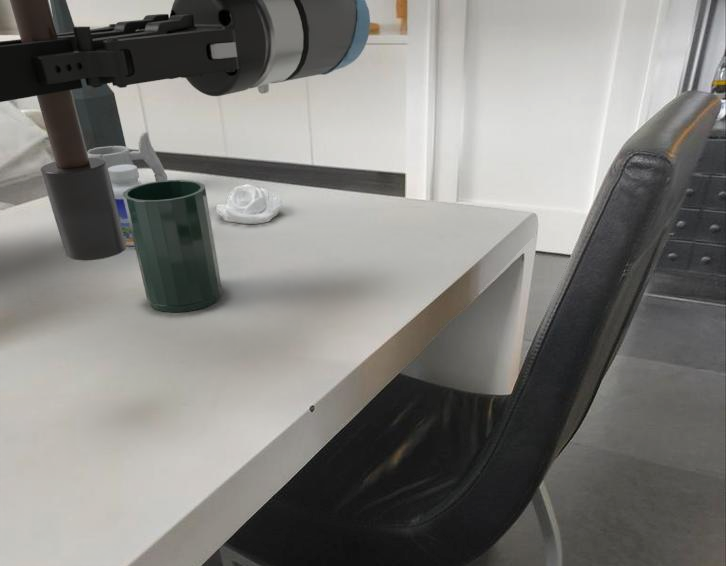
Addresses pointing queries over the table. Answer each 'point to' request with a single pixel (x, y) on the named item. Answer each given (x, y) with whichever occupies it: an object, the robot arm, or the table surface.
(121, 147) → the mug
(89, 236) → the brush
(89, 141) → the bottle
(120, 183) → the pill bottle
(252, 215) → the rose
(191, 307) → the dark green pencil cup
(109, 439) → the table surface
